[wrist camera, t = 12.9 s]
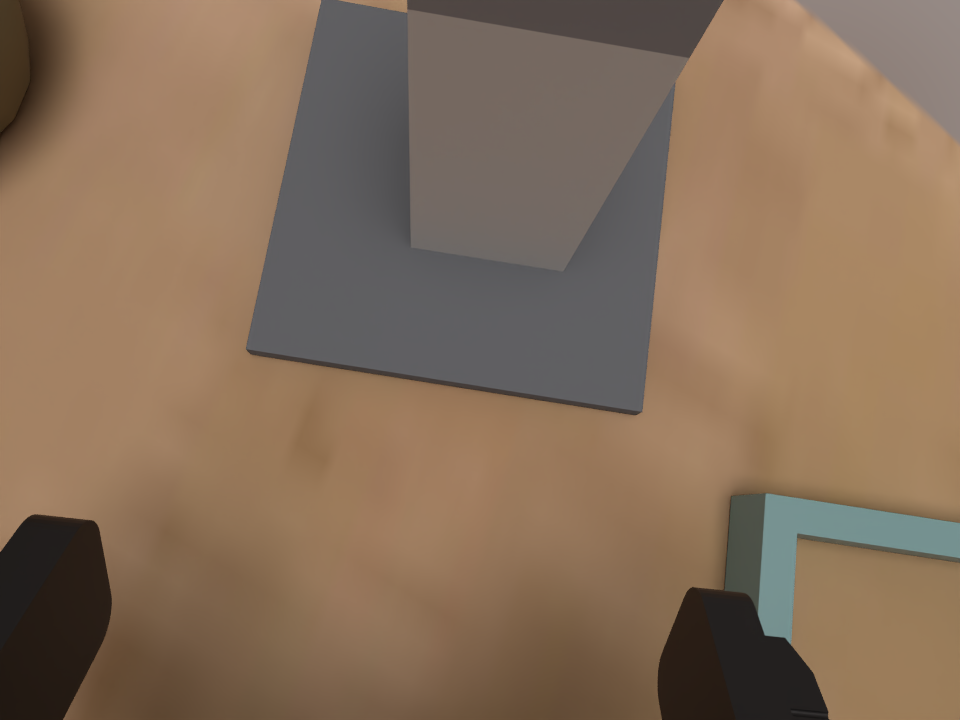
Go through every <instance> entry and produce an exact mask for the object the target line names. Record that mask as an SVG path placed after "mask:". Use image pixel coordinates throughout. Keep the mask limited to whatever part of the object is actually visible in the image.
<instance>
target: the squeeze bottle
mask: <svg viewBox="0 0 960 720" xmlns="http://www.w3.org/2000/svg"><path fill="white" fill-rule="evenodd" d="M30 81H31V79H30V55H29V40H28V35H27V31H26V27H25V22H24V18H23V14H22V9H21V5H20V1H19V0H0V132H1V131H3V130H4V129H5V128H6V127H7V126H8V125H9V124H10V123H11V122H12V121H13V120H14V118H15V116H16V114H17V111H18V109H19V107H20V104H21V102H22V100H23V97H24V95H25V93H26V90H27V88H28V85H29V83H30Z"/></svg>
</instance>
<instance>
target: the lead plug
mask: <svg viewBox="0 0 960 720" xmlns="http://www.w3.org/2000/svg"><path fill="white" fill-rule="evenodd" d="M722 2H723V0H407V13H408V85H409V157H410V229H411V248H417V249H423V250H430V251H436V252H442V253H449V254H455V255H461V256H468V257H474V258H480V259H487V260H493V261H499V262H506V263H512V264H519V265H525V266H531V267H538V268H544V269H550V270H557V271H564V269H565V268H566V266H567V264H568V263H569V261H570V259H571V257H572V256H573V254H574V252H575V251H576V249H577V247H578V246H579V244H580V242H581V241H582V239H583V237H584V235H585V234H586V232H587V230H588V229H589V227H590V225H591V224H592V222H593V220H594V219H595V217H596V215H597V213H598V212H599V210H600V208H601V207H602V205H603V203H604V202H605V200H606V198H607V197H608V195H609V193H610V192H611V190H612V188H613V186H614V185H615V183H616V181H617V180H618V178H619V176H620V175H621V173H622V171H623V170H624V168H625V166H626V164H627V163H628V161H629V159H630V158H631V156H632V154H633V153H634V151H635V149H636V148H637V146H638V144H639V142H640V141H641V139H642V137H643V136H644V134H645V132H646V131H647V129H648V127H649V126H650V124H651V122H652V120H653V119H654V117H655V115H656V114H657V112H658V110H659V109H660V107H661V105H662V104H663V102H664V100H665V98H666V97H667V95H668V93H669V92H670V90H671V88H672V87H673V85H674V83H675V82H676V80H677V78H678V76H679V75H680V73H681V71H682V70H683V68H684V66H685V65H686V63H687V61H688V60H689V58H690V56H691V54H692V53H693V51H694V49H695V48H696V46H697V44H698V43H699V41H700V39H701V38H702V36H703V34H704V32H705V31H706V29H707V27H708V26H709V24H710V22H711V21H712V19H713V17H714V16H715V14H716V12H717V10H718V9H719V7H720V5H721V4H722Z"/></svg>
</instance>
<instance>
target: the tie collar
mask: <svg viewBox="0 0 960 720" xmlns="http://www.w3.org/2000/svg"><path fill="white" fill-rule="evenodd" d="M797 538H801V539H807V540H814V541H820V542H827V543H834V544H840V545H847V546H853V547H860V548H867V549H873V550H880V551H886V552H893V553H900V554H906V555H913V556H919V557H926V558H932V559H939V560H946V561H952V562H959V563H960V523H955V522H949V521H942V520H936V519H929V518H923V517H916V516H910V515H903V514H897V513H890V512H884V511H878V510H871V509H865V508H858V507H852V506H845V505H839V504H832V503H826V502H819V501H813V500H806V499H800V498H793V497H787V496H780V495H774V494H767V493H763V494H751V495H739V496H731V509H730V522H729V536H728V549H727V563H726V576H725V590H724V591H732V592H741V593H746V594H748V595H749V596H750V598H751V599H752V601H753V603H754V605H755V608H756V611H757V614H758V617H759V620H760V623H761V625H762V628H763V631H764V634H765V636H774V637H784V638H786V640H787V641H788V642H789V643H790V645H791V636H792V618H793V600H794V581H795V563H796V545H797Z"/></svg>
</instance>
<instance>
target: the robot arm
mask: <svg viewBox="0 0 960 720" xmlns="http://www.w3.org/2000/svg"><path fill="white" fill-rule="evenodd" d="M111 606H112V598H111V591H110V585H109V580H108V574H107V569H106V564H105V558H104V553H103V547H102V542H101V536H100V531H99V528H98V525H97V524H96V523H95V522H94V521H92V520H83V519H74V518H65V517H56V516H46V515H31V516H30V517H28V518H27V519H26V520H25V521H23V523H22V524H21V525H20V526H19V528H18V529H17V530H16V532H15V533H14V534H13V536H12V537H11V539H10V540H9V541H8V543H7V544H6V545H5V547H4V548H3V550H2V551H1V552H0V720H63V718H64V716H65V714H66V712H67V710H68V709H69V707H70V705H71V703H72V701H73V699H74V697H75V695H76V693H77V691H78V689H79V687H80V685H81V683H82V681H83V679H84V677H85V676H86V674H87V672H88V670H89V668H90V666H91V664H92V662H93V660H94V658H95V656H96V654H97V652H98V650H99V648H100V646H101V644H102V642H103V640H104V637H105V634H106V631H107V628H108V624H109V620H110V615H111ZM658 698H659V705H660V710H661V715H662V720H829V719H828V710H827V707H826V705H825V702H824V700H823V697H822V694H821V692H820V689H819V687H818V684H817V682H816V679H815V676H814V674H813V672H812V671H811V670H810V668H809V667H808V666H807V665H806V663H805V662H804V661H803V660H802V658H801V657H800V656H799V655H798V653H797V652H796V651H795V650H794V648H793V647H792V646H791V645H790V643H789V642H788V641H787V640H786V638H784V637H774V636H765V634H764V631H763V628H762V625H761V623H760V620H759V617H758V614H757V611H756V608H755V605H754V603H753V601H752V599H751V598H750V596H749V595H748V594H746V593H741V592H732V591H723V590H714V589H704V588H695V587H692V588H690V589H689V590H688V591H687V593H686V595H685V597H684V599H683V602H682V604H681V607H680V609H679V612H678V614H677V617H676V619H675V622H674V624H673V627H672V629H671V632H670V634H669V637H668V639H667V642H666V644H665V647H664V649H663V652H662V655H661V658H660V662H659V669H658Z"/></svg>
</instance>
